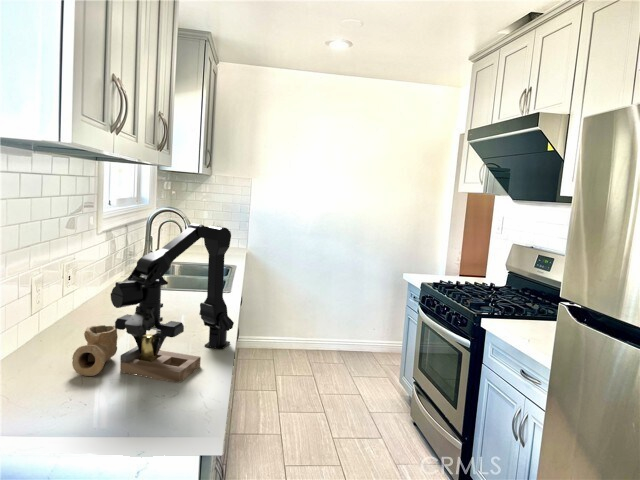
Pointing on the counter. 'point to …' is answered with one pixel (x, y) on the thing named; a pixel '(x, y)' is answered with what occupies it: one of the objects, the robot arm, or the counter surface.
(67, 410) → the counter surface
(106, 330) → the pipe
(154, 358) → the brass cylinder rod
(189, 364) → the jig
